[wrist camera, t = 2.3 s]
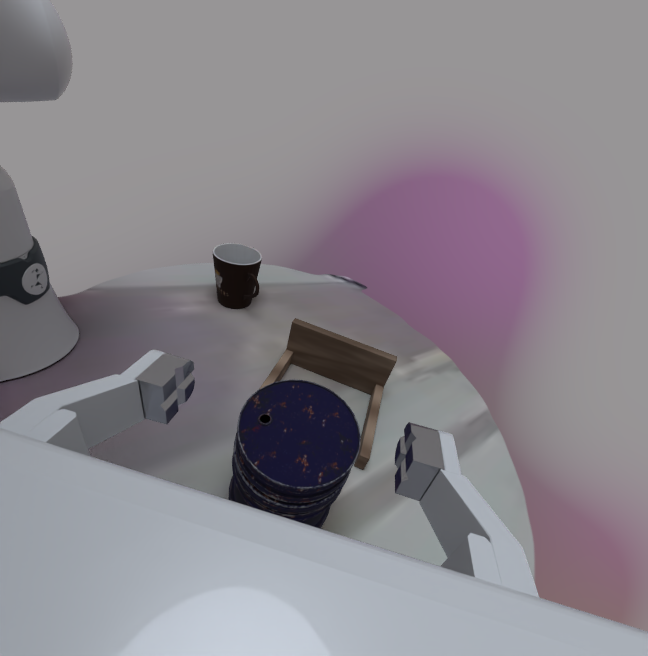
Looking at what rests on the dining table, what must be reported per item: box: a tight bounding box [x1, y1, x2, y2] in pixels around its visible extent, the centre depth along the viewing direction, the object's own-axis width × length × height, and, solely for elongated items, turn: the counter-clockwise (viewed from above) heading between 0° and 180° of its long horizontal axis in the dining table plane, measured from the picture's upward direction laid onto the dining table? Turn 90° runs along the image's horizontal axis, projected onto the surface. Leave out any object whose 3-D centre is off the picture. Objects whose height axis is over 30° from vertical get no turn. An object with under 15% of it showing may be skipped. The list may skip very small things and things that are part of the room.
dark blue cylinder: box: [229, 380, 361, 529], centre depth 28 cm, size 10×10×15 cm
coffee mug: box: [213, 243, 262, 309], centre depth 57 cm, size 12×9×10 cm
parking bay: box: [260, 318, 397, 470], centre depth 43 cm, size 14×16×8 cm
